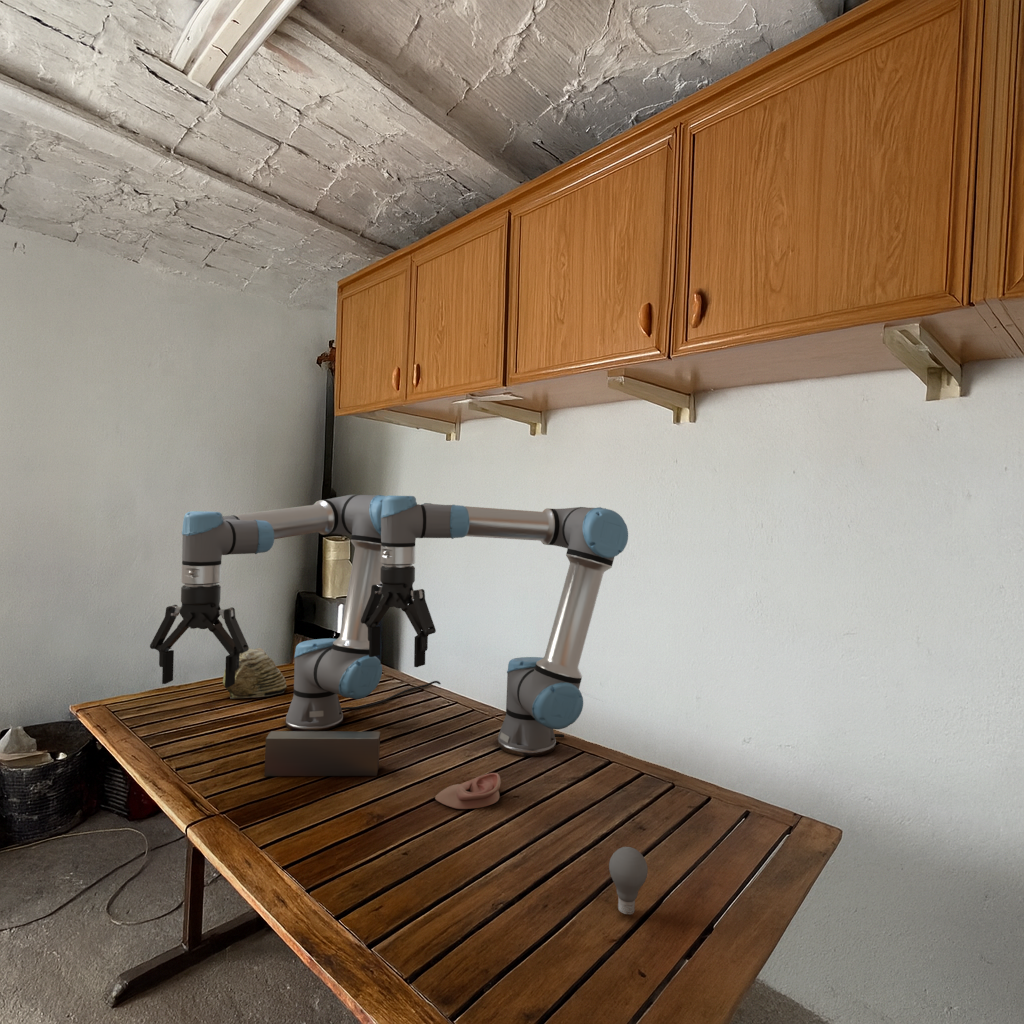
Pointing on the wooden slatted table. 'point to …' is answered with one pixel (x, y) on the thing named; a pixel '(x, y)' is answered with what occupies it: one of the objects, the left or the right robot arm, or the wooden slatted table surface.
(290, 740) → the bar
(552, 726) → the right robot arm
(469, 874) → the wooden slatted table surface
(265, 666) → the fossil
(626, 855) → the light bulb
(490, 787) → the anatomical model
